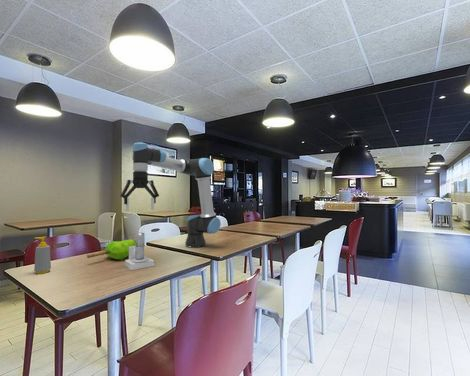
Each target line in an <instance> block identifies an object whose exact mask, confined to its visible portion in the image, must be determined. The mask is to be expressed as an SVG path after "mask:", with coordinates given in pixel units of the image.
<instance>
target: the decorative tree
mask: <svg viewBox="0 0 470 376" xmlns="http://www.w3.org/2000/svg"><path fill="white" fill-rule="evenodd" d="M132 246H136V240H134V239H131V238H130V239H126V240H121V241H118V240H117V241H116V240H115V241H113V240H112V241H110V242H109V243H108V244H106V246H105V248H104V251H101V252H97V253H91V254H87V256H86V257H87V258H88V259H90V258H94V257H99V256H103V255H106V256H108V257H109V258H110V259H114V260H119V261H122V260H125V259H126V258H127V257H129V247H132Z"/></svg>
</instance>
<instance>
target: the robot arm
mask: <svg viewBox="0 0 470 376" xmlns="http://www.w3.org/2000/svg"><path fill="white" fill-rule="evenodd" d="M132 146H133V147H132V148H133V149H132V167H133V168H132V179H126V183H125V186H124V188H123V189H122V192H121V193H120V196H119V197H120V198H123V204H124V205H125V211H127V212H128V211H130V198H129V197H130V196H131V195H132V193H133V192H134V191H135V190H136V189H145V190H146V191H147V192H148V194H149V195H150V196H151V198H150V210H152V211H153V210H154V211H155V204H156V203H157V200H156V199H157V197H158V198H159V196H160V194H159V193H158V191H157V188H156V186H155V183H154V180H153V179H152V180H151V179H150V180H148V179H149V178H148V177H149V173H148V169H149V168H148V167H149V166H153V167H157V168H162V169H163V168H164V169H167V170H172V171H176V172H177V173H180V174H185V175H189V176H194V179H195V180H196V181H197V186H198V195H199V203H200V209H201V210H200V211H201V213H200V214H194V215H193V214H192V215H188V217H187V236H186V239H185V243H184V244H185V245H186V246H191V247H190V248H193V247H194V248H199V247H198V246H203V247H205V246H206V240H205V237H204V233H205V234H213V235H214V234H216V233H218V232H219V230H220V228H221V225H222V224H221V219H220V218H219V217H217V213H216V212H215V211H214V205H213V204H214V202H213V196H212V188H211V187H212V186H211V178H212V174H213V173H214V171H215V166H214V163H213V161H212V160H211V159H210V158H207V157H201V158H192V159H182V158H181V159H176V158H172V157H168V156H167V153H166V152H165V150H162V149H157V148H150V147H149V145H148V143H145V142H135V143H134V144H133V145H132ZM131 184H133V185H132V186H131ZM148 184H149V185H150V187H151V188H150V187H149V185H148ZM130 186H131V188H130V189H129V187H130ZM151 189H152V190H151ZM128 190H129V191H128ZM185 245H184V246H185ZM204 245H205V246H204ZM186 246H185V247H186Z"/></svg>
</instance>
